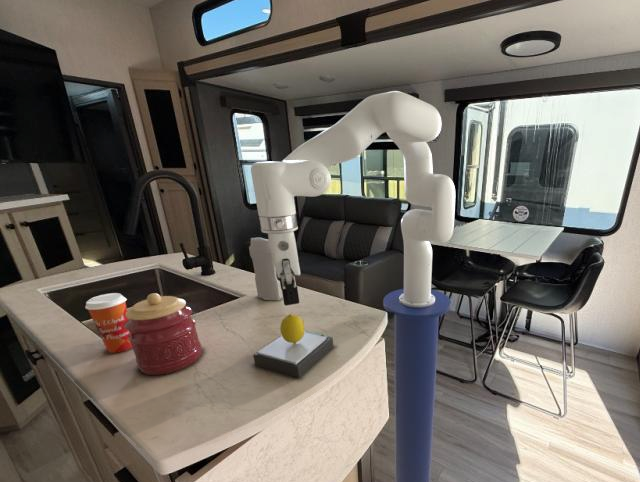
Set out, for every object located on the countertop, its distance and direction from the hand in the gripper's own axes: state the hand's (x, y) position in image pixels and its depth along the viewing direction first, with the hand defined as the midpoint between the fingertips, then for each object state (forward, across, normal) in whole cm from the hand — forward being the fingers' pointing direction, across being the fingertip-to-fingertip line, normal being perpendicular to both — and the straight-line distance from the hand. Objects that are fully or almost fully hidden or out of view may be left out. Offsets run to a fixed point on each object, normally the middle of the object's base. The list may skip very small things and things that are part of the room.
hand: (289, 295), depth 74 cm
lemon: (+13, 0, +1) cm, 13 cm away
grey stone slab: (+17, +41, +6) cm, 45 cm away
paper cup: (+16, +22, +42) cm, 50 cm away
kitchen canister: (+16, +10, +29) cm, 34 cm away
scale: (+16, 0, +1) cm, 16 cm away
